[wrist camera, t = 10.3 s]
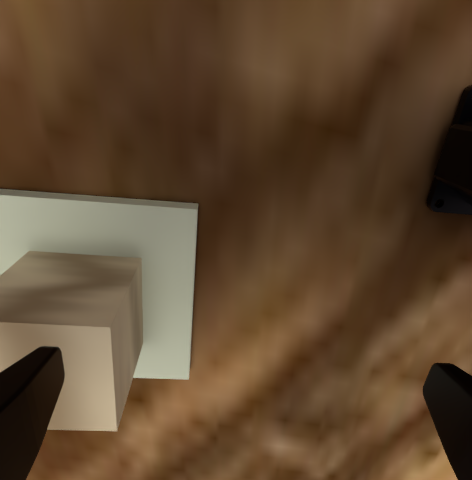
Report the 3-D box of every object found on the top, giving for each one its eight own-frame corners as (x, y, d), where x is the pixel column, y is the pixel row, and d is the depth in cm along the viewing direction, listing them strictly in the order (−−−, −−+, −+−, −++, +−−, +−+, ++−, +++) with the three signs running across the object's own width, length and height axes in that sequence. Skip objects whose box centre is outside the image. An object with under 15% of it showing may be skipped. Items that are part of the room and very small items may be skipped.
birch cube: (141, 258, 19) (110, 327, 14) (143, 343, 21) (117, 431, 16) (29, 250, 19) (-51, 319, 13) (43, 338, 21) (-19, 427, 15)
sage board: (198, 203, 19) (197, 209, 18) (190, 368, 24) (188, 379, 23) (-32, 186, 18) (-45, 191, 17) (8, 361, 23) (0, 373, 22)
